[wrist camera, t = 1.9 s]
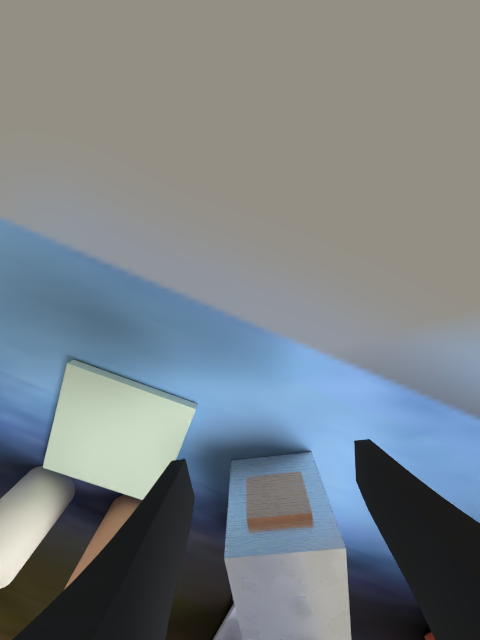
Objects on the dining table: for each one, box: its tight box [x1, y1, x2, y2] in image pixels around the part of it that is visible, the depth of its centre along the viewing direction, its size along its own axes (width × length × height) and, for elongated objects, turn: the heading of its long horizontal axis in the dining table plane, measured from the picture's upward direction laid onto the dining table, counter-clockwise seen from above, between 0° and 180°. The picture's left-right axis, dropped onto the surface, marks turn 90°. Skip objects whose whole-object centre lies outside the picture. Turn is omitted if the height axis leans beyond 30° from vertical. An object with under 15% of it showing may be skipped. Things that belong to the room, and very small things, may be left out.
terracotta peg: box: [64, 495, 142, 590], centre depth 16 cm, size 4×4×5 cm
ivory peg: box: [0, 466, 75, 589], centre depth 16 cm, size 4×4×5 cm
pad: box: [43, 360, 198, 500], centre depth 17 cm, size 9×9×1 cm
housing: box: [224, 452, 351, 640], centre depth 15 cm, size 9×6×6 cm
